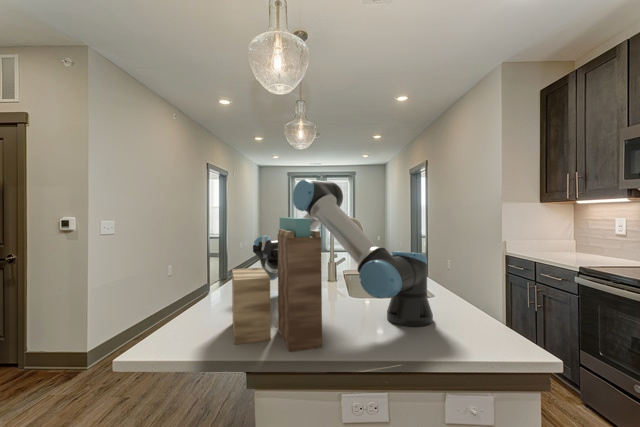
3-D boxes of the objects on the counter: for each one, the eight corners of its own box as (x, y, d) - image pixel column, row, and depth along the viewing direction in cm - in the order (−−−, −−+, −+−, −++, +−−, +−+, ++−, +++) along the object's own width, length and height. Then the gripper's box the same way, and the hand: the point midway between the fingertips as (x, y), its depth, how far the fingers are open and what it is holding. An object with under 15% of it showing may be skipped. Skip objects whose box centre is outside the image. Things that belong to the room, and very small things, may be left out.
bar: (279, 231, 112) (279, 217, 112) (290, 231, 114) (290, 217, 114) (296, 237, 88) (295, 218, 88) (310, 236, 89) (310, 218, 89)
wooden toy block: (232, 323, 107) (232, 269, 107) (262, 320, 110) (262, 267, 110) (234, 344, 90) (234, 280, 90) (270, 340, 93) (270, 277, 93)
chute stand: (278, 329, 101) (277, 229, 101) (306, 326, 104) (305, 228, 104) (289, 352, 85) (288, 232, 85) (322, 347, 88) (321, 231, 88)
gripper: (305, 267, 136) (317, 246, 119) (244, 271, 129) (248, 249, 111) (303, 251, 140) (314, 228, 122) (244, 253, 133) (247, 230, 115)
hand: (283, 238), depth 117 cm, fingers open, 13 cm apart
